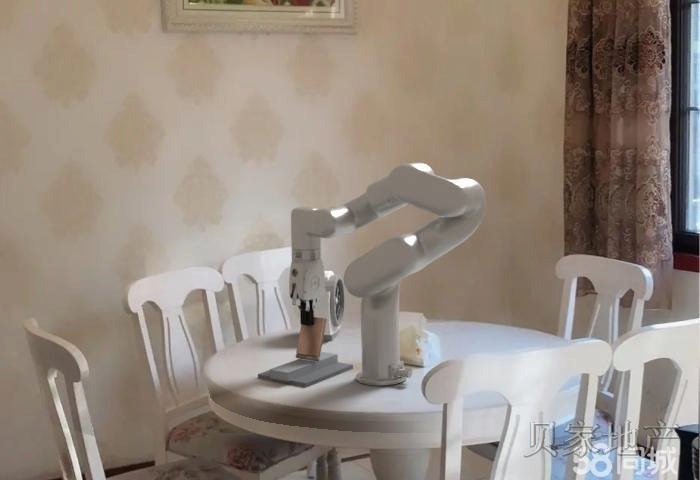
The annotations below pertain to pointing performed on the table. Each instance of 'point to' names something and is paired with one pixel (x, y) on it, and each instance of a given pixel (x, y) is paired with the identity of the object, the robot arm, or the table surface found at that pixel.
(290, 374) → the grey ridged base plate
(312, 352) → the flap
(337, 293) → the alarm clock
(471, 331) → the table surface
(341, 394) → the table surface
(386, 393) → the table surface
